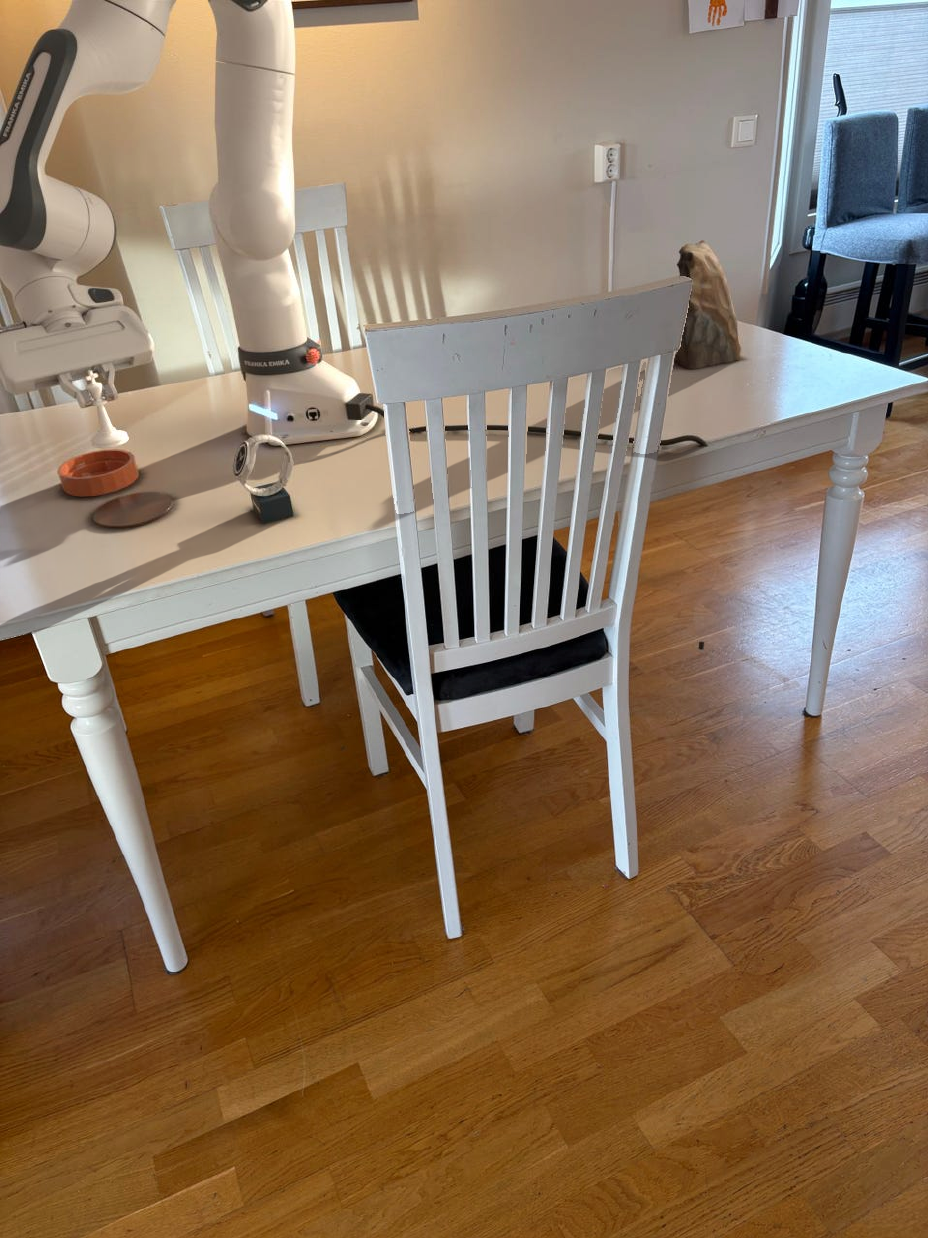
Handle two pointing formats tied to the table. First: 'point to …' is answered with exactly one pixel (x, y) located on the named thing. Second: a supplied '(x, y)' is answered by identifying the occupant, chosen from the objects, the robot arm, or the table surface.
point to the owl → (707, 311)
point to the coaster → (133, 510)
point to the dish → (98, 472)
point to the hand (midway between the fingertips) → (100, 401)
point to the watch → (271, 497)
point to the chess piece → (103, 418)
